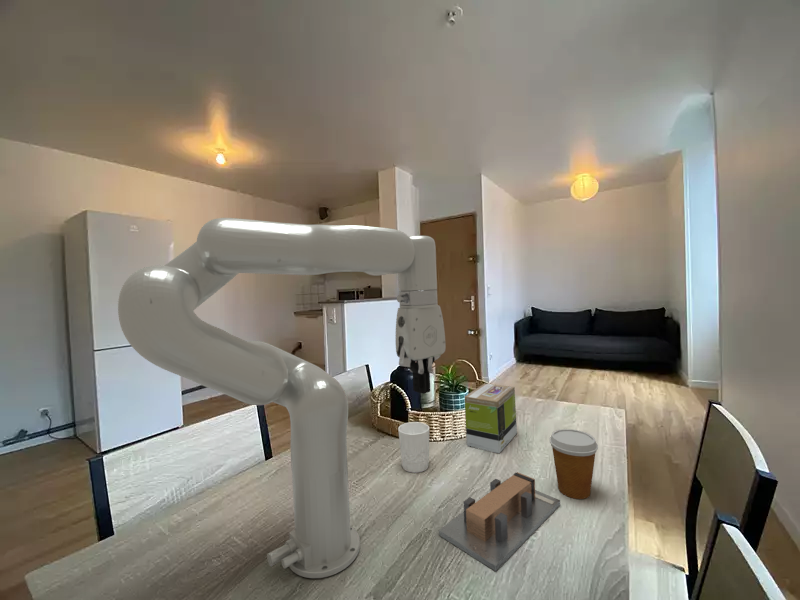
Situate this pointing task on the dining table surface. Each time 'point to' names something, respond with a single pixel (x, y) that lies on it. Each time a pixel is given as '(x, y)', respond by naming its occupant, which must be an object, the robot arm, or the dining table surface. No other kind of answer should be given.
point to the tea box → (490, 417)
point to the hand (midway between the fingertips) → (421, 391)
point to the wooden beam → (498, 505)
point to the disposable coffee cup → (574, 461)
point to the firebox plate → (501, 529)
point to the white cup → (414, 446)
